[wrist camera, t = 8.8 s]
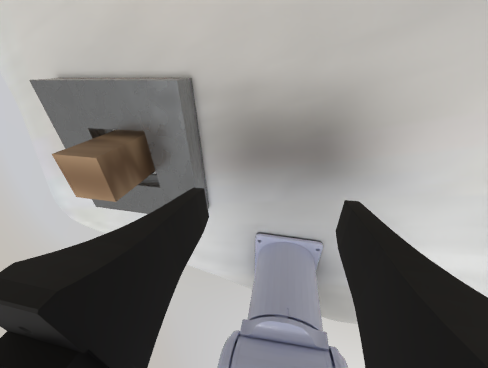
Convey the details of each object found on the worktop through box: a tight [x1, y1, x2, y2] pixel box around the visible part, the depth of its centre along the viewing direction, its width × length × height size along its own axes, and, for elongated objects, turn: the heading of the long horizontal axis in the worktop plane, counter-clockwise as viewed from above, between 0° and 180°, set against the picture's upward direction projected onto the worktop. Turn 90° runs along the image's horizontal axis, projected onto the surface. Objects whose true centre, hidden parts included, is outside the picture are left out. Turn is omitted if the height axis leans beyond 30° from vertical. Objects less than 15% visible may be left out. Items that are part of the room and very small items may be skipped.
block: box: [52, 130, 156, 202], centre depth 18 cm, size 4×4×7 cm
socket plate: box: [30, 78, 209, 214], centre depth 20 cm, size 14×14×2 cm
